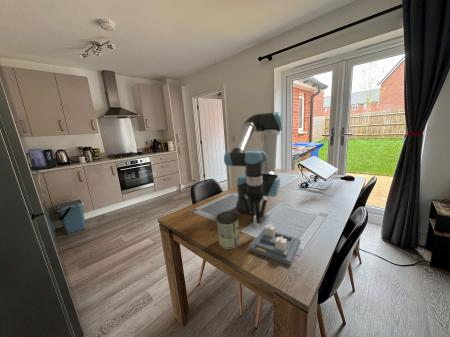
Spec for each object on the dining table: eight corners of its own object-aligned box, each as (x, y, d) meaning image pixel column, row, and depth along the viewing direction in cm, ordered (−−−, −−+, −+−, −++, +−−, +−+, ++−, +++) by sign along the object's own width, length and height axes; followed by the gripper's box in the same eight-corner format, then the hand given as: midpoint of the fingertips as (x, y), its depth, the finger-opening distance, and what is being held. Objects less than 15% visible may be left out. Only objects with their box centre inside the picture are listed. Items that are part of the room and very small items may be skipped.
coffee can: (218, 237, 94) (216, 212, 91) (238, 235, 94) (236, 210, 91) (218, 250, 84) (216, 223, 81) (241, 248, 84) (239, 221, 81)
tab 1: (265, 236, 88) (264, 226, 86) (267, 233, 90) (267, 223, 89) (273, 239, 85) (273, 228, 84) (275, 235, 88) (275, 225, 86)
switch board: (249, 250, 82) (249, 244, 81) (263, 232, 95) (263, 226, 94) (290, 265, 72) (290, 258, 71) (300, 242, 85) (300, 236, 84)
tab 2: (275, 250, 78) (275, 238, 77) (277, 246, 80) (277, 234, 79) (284, 253, 76) (284, 241, 74) (286, 249, 78) (286, 237, 77)
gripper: (238, 184, 86) (241, 228, 92) (264, 188, 79) (265, 235, 85) (246, 179, 92) (248, 221, 98) (270, 182, 85) (271, 227, 91)
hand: (256, 228), depth 91 cm, fingers closed
